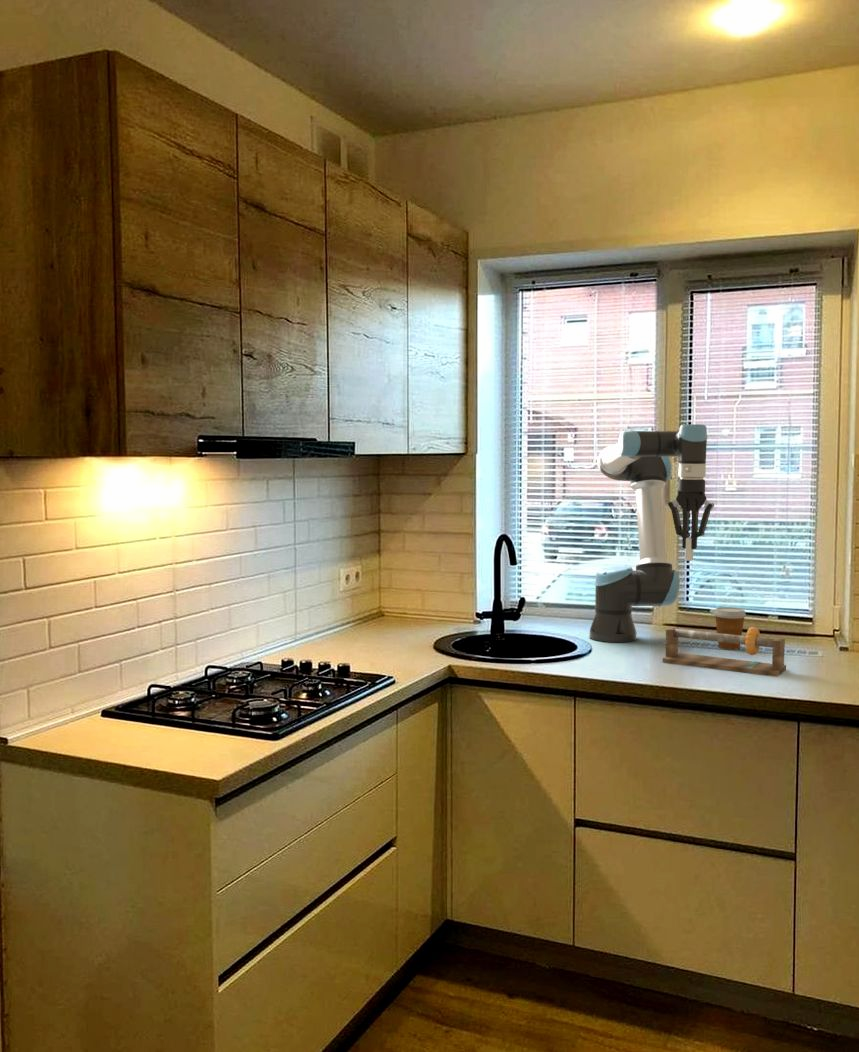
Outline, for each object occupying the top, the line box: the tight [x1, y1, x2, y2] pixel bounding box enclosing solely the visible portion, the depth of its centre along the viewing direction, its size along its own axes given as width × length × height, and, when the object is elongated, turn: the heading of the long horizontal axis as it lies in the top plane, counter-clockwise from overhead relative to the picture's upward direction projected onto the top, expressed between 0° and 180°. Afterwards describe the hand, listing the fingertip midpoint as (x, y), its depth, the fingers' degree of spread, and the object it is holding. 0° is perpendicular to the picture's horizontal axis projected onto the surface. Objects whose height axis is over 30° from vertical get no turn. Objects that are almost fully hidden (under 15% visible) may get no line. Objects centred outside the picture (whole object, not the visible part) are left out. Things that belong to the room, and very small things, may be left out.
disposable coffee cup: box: [713, 606, 747, 650], centre depth 292 cm, size 10×10×12 cm
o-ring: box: [744, 626, 761, 656], centre depth 262 cm, size 3×8×8 cm, turn 146°
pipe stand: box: [661, 626, 787, 677], centre depth 266 cm, size 32×10×9 cm, turn 56°
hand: (689, 560), depth 271 cm, fingers closed
